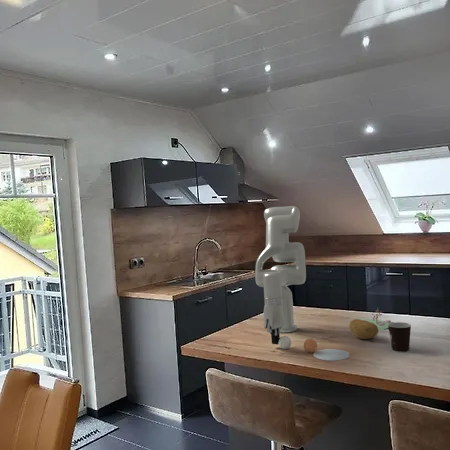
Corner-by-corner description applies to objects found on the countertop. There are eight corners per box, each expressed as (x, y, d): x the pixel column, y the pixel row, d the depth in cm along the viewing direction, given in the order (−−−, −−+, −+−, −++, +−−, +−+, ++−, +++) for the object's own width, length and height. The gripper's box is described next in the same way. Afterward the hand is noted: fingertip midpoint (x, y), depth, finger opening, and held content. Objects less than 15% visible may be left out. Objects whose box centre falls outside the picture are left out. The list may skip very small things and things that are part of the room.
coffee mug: (409, 353, 186) (408, 328, 186) (387, 351, 190) (385, 326, 190) (415, 345, 196) (414, 321, 195) (393, 343, 200) (392, 319, 200)
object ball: (301, 353, 195) (301, 340, 195) (307, 349, 200) (306, 336, 199) (313, 354, 192) (313, 341, 192) (319, 351, 197) (318, 338, 196)
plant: (337, 324, 239) (336, 306, 239) (364, 317, 251) (363, 300, 250) (378, 333, 219) (377, 314, 218) (406, 325, 230) (405, 306, 230)
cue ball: (274, 345, 203) (279, 335, 201) (280, 341, 207) (285, 331, 205) (284, 353, 200) (289, 343, 198) (290, 349, 204) (295, 339, 203)
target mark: (307, 357, 189) (307, 357, 189) (322, 347, 200) (322, 347, 200) (341, 362, 181) (341, 362, 181) (354, 352, 192) (354, 351, 192)
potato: (369, 344, 202) (368, 325, 201) (344, 337, 214) (343, 319, 213) (385, 339, 207) (384, 321, 206) (360, 333, 219) (359, 316, 218)
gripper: (275, 297, 213) (277, 338, 213) (256, 304, 201) (258, 347, 201) (289, 298, 208) (292, 340, 208) (271, 305, 196) (273, 349, 197)
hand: (275, 343), depth 205 cm, fingers closed
